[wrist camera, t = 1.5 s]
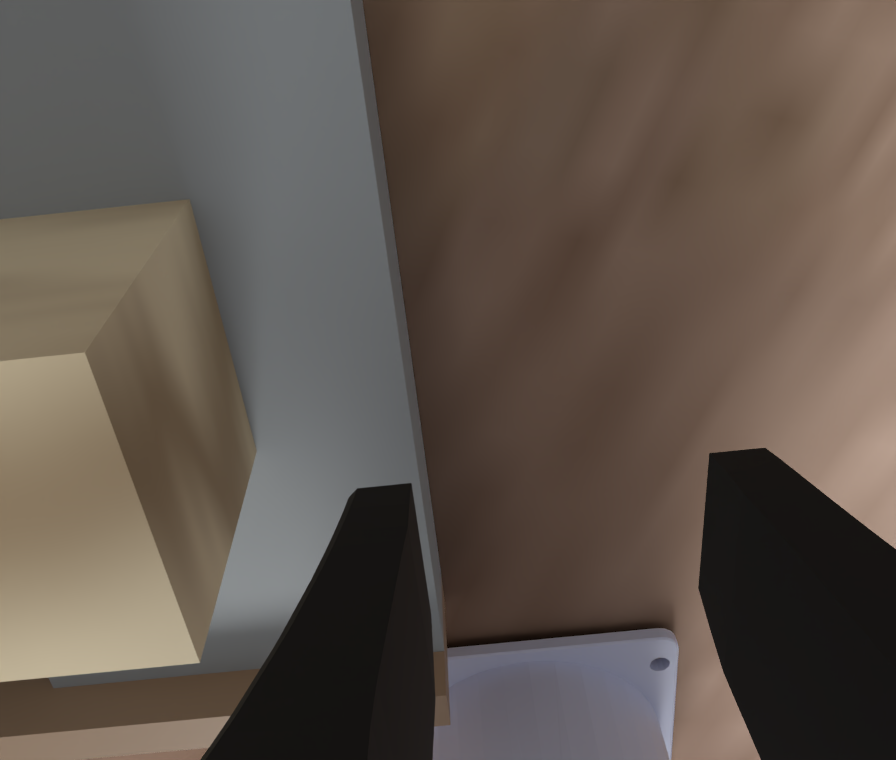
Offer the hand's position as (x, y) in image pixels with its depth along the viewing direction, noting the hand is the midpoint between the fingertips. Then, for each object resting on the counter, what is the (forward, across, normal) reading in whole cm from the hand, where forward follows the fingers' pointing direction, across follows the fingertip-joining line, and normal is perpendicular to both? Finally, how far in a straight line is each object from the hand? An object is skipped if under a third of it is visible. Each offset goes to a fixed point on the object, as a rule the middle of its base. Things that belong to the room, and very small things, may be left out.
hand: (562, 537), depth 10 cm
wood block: (+6, +8, 0) cm, 10 cm away
